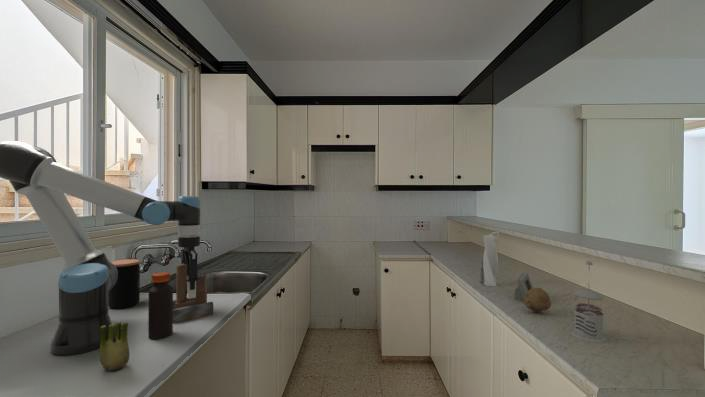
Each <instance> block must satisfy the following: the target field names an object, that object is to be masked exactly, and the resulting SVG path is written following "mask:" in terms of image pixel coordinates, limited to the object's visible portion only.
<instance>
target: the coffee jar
mask: <svg viewBox="0 0 705 397" xmlns="http://www.w3.org/2000/svg"><path fill="white" fill-rule="evenodd" d="M110 262H111V263H113V264H114V265H115V267H116V268H117V272H118V278H117V281H116V284H115V285H114V287H113V288H112V289H111V290H110V291H109V293H108V308H110V309H113V310H124V309H128V308H131V307H134V306H137V305H138V304H139V302H140V301H141V299H140V298H141V296H140V295H141V294H140V292H141V291H140V290H141V284H140V283H141V281H140V280H141V279H140V278H141V276H140V275H141V274H140V273H141V271H140V270H141V267H140V265H139V264H140V259H134V258H133V259H132V258H131V259H129V258H128V259H120V260H119V259H118V260H113V261H110Z"/></svg>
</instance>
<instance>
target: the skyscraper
mask: <svg viewBox="0 0 705 397" xmlns="http://www.w3.org/2000/svg"><path fill="white" fill-rule="evenodd" d="M494 234H498V235H497V236H495V235H494ZM499 236H500V232H498V231H494V232H492V233H491V232H490V234H488V235H487V234H486V235H483V242H484V243H483V244H484V251H483V259H481V267H480V282H479V283H480V285H481V286H482V287H495V288H496V287H498V285H497V282H496V280H497V275H498V270H499V257H498V250H497V246H498V240H499Z"/></svg>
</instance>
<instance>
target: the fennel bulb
mask: <svg viewBox="0 0 705 397" xmlns="http://www.w3.org/2000/svg"><path fill="white" fill-rule="evenodd" d="M115 325H116V327H115ZM128 325H129V323H128V322H126V321H124V322H122V321H116V323H112V324H111V325H109V330H108V338H107V329H106V326H105V325H104V326H101V327H100V335H101V342H100V348H99V360H100V364H101V365H102V367H103V369H104V370H106V371H109V372H116V371H119V370H121V369H123V368H124V367H125V366H126V365H127V364H128V362H129V360H130V346H129V343H128V342H129V341H128ZM115 328H116V329H115ZM114 332H115V339H114Z"/></svg>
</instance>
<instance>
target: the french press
mask: <svg viewBox="0 0 705 397" xmlns="http://www.w3.org/2000/svg"><path fill="white" fill-rule="evenodd" d="M585 265H587V266H588V270H590V267H591V266H593V262H592V261H590V260H588V261H586V262H585ZM573 293H574V295H572V296H571V295H570V296H569V297H568V298H566V300H565V302H564V303H565V307H564V308H565V310H566V312H567V314H568V315H569V316H571V317H572V318H573V329H572V330H571V331H570V334H571V335H572V336H573V337H575V338H577V339H579V340H582V341H586V342H591V343H595V344H596V343H599V344H600V343H601V344H602V343H606V342H607V341H608V340H607V338H606V337H605V336H604V313H603V312H602V311H603V309H602V307H599V306H597V305H594V304H590V300H592V301H601V300H604V299H605V296H603V295H602V294H601V293H599V292H597V291H594V290H591V289H590V284H588V286H587V289H579V290H576V291H574V292H573ZM578 297H579V298H581V299H586V300H588V301H587V303H583V302H582V303H576V304H575V307H576V308H574V309H573V310H574V312H572V311H571V310H570V307H569V305H570V304H569V303H570V302H569V301H570V300H571V299H572V298H573V300H574V301H577V300H578ZM584 312H585V313H584ZM586 312H589V313H586ZM592 313H593V314H592ZM594 314H595V315H594Z"/></svg>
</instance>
